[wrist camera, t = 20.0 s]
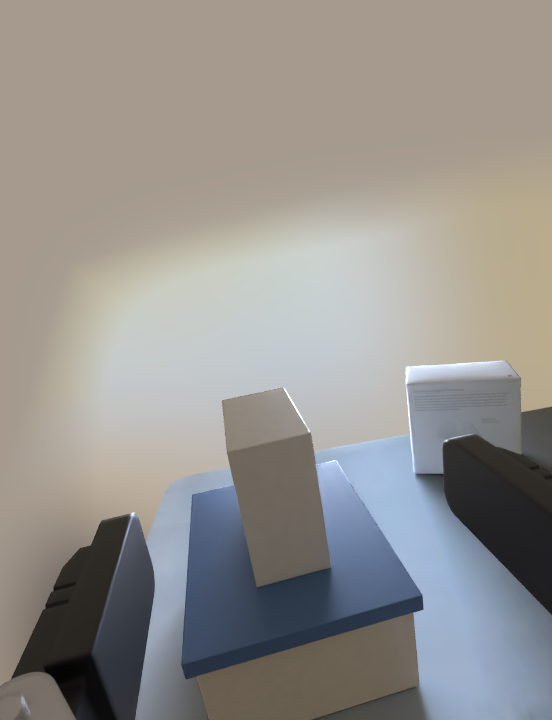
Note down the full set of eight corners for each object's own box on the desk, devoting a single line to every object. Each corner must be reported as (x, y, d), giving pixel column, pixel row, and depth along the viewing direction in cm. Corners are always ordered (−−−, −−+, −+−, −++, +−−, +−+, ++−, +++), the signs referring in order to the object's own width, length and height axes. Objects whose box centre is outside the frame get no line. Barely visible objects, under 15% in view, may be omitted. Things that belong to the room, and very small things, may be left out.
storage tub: (210, 761, 21) (181, 665, 19) (209, 561, 36) (192, 494, 34) (430, 690, 23) (422, 595, 21) (344, 526, 37) (336, 460, 35)
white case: (256, 588, 23) (226, 451, 21) (244, 506, 31) (221, 400, 28) (331, 567, 24) (311, 432, 21) (301, 492, 31) (284, 386, 29)
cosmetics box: (507, 444, 45) (507, 357, 43) (523, 477, 40) (523, 378, 37) (411, 444, 49) (405, 364, 46) (412, 474, 43) (405, 384, 40)
